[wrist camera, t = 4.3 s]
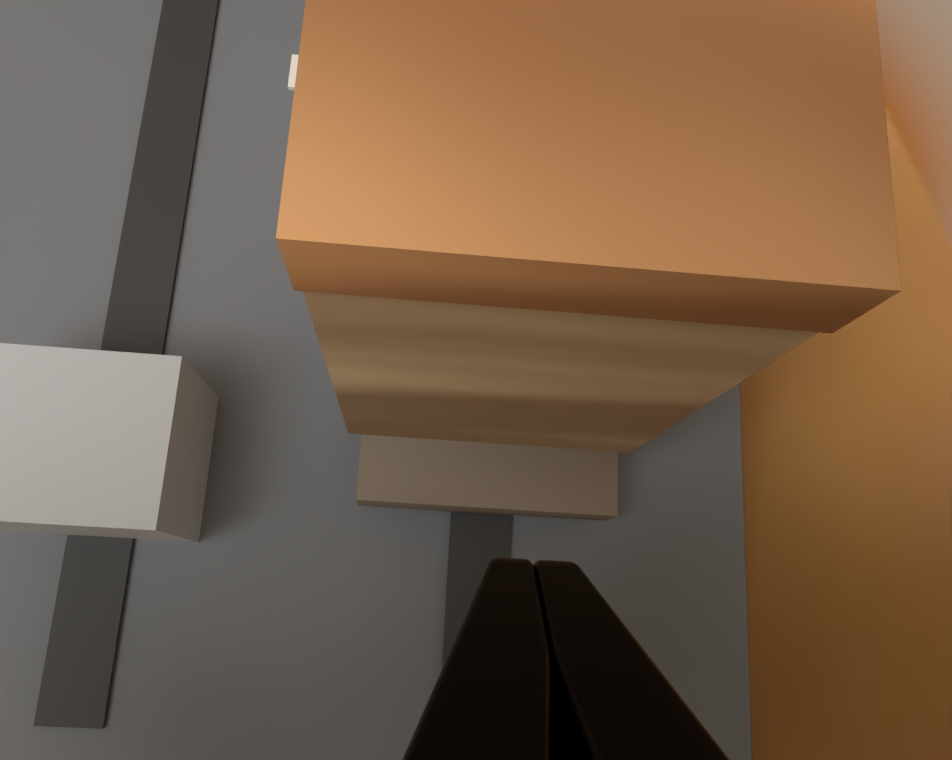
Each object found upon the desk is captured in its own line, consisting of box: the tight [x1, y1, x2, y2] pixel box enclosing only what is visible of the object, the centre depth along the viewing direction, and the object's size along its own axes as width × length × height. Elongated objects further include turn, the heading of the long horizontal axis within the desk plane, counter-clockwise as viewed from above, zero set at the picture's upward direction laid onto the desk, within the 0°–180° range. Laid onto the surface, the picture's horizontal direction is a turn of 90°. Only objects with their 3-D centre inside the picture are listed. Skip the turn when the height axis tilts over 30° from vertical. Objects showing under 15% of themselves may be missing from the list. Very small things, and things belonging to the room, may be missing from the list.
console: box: [0, 0, 752, 760], centre depth 14 cm, size 18×14×4 cm
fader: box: [276, 0, 901, 521], centre depth 10 cm, size 5×4×8 cm
